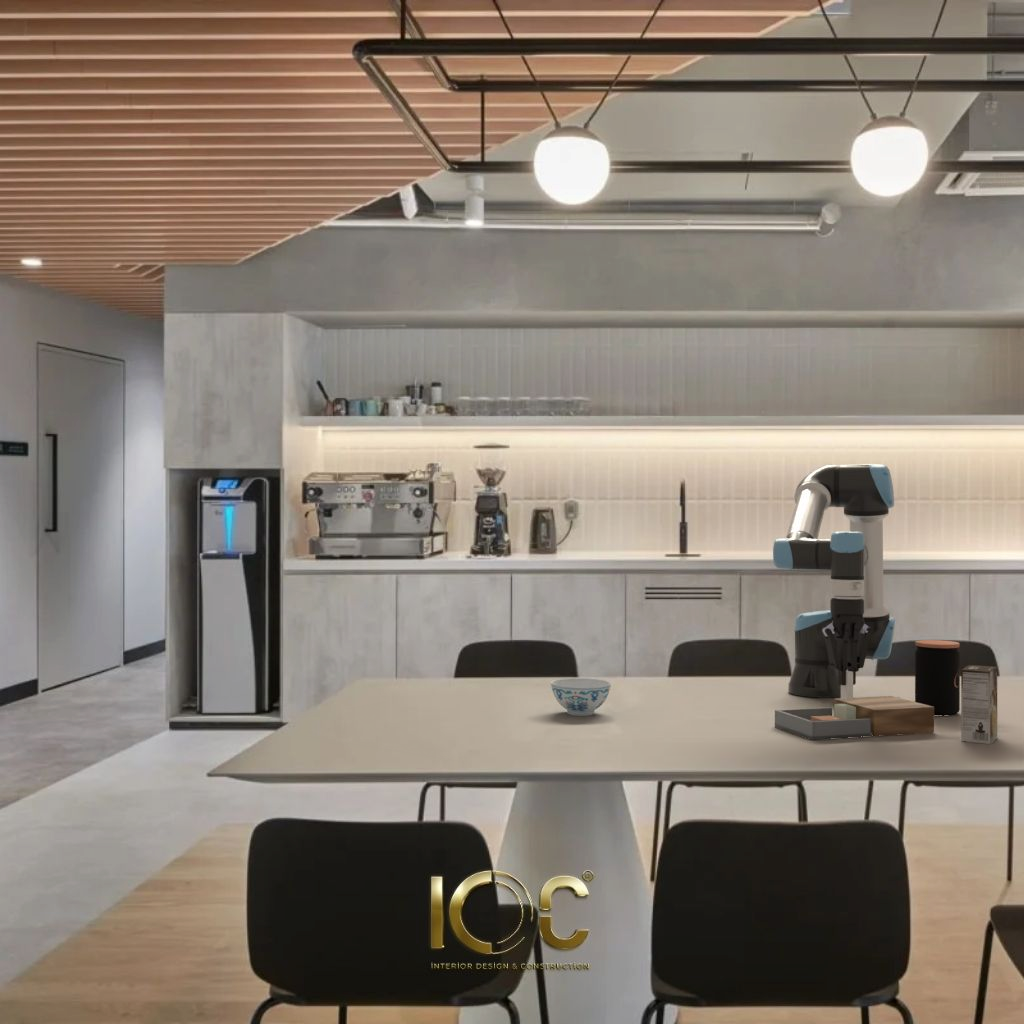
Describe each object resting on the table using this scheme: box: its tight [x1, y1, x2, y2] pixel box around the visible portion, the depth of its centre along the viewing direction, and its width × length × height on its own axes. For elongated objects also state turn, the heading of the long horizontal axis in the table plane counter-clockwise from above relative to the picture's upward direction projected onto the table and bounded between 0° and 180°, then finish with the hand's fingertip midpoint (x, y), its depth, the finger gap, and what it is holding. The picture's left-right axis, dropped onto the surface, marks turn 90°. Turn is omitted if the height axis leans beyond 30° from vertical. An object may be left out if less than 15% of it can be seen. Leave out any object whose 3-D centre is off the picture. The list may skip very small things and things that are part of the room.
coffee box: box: [960, 664, 998, 745], centre depth 244 cm, size 9×6×16 cm
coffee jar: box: [914, 639, 961, 717], centre depth 278 cm, size 11×11×18 cm
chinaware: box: [550, 677, 611, 717], centre depth 275 cm, size 15×15×8 cm
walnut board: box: [833, 695, 935, 737], centre depth 257 cm, size 16×16×6 cm
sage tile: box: [833, 703, 856, 720], centre depth 254 cm, size 5×5×2 cm
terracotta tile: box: [811, 715, 842, 721], centre depth 252 cm, size 5×5×2 cm
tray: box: [774, 706, 873, 741], centre depth 252 cm, size 16×16×4 cm
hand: (846, 699), depth 254 cm, fingers closed
